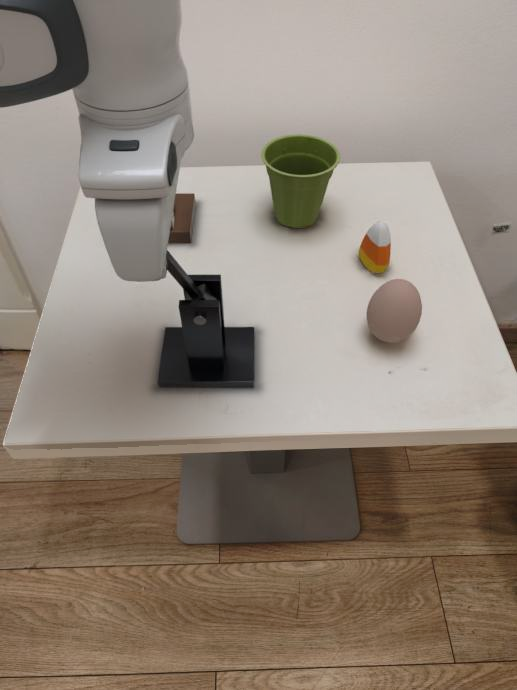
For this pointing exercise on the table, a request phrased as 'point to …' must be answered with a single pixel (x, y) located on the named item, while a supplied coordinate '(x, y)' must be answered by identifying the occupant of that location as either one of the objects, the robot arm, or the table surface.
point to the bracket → (206, 345)
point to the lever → (188, 281)
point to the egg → (394, 310)
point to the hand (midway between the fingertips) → (162, 249)
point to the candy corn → (376, 248)
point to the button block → (183, 218)
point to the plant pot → (299, 176)
